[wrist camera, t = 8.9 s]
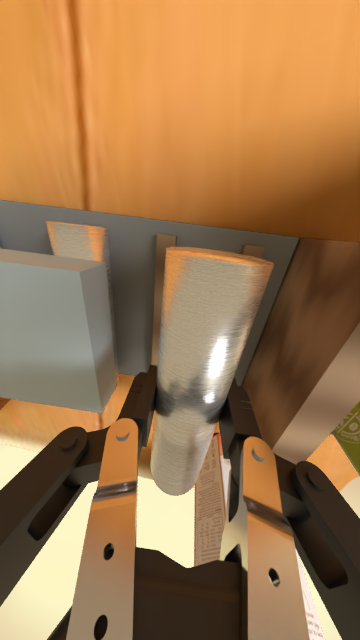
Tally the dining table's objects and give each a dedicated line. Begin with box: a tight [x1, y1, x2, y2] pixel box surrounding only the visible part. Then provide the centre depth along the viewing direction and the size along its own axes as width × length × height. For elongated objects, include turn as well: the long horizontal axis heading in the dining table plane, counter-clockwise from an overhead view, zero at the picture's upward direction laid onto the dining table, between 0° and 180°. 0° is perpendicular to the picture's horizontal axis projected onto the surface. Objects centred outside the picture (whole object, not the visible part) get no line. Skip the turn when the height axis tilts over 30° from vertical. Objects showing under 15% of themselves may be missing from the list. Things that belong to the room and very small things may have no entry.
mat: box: [0, 200, 299, 386], centre depth 19 cm, size 18×38×1 cm, turn 84°
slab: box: [0, 248, 117, 413], centre depth 14 cm, size 12×16×3 cm
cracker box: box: [194, 434, 325, 640], centre depth 22 cm, size 14×6×21 cm, turn 49°
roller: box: [150, 247, 274, 496], centre depth 10 cm, size 16×4×4 cm, turn 174°
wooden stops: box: [151, 234, 360, 464], centre depth 15 cm, size 18×14×9 cm
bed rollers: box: [0, 221, 119, 382], centre depth 17 cm, size 16×14×4 cm
